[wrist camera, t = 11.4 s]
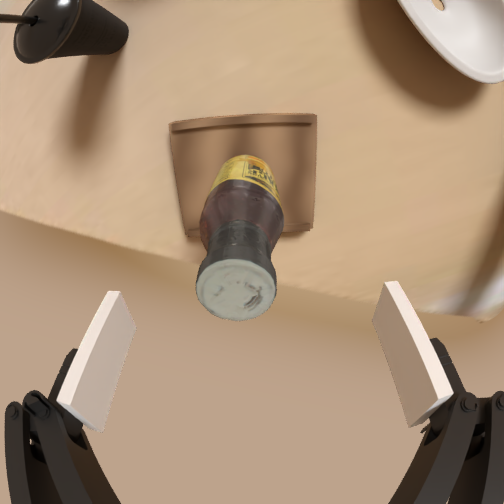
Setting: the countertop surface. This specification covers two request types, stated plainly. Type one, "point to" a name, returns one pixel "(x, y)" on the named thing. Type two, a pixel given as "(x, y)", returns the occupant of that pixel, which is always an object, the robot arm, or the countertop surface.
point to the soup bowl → (463, 34)
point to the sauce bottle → (240, 240)
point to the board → (247, 143)
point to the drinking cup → (65, 30)
